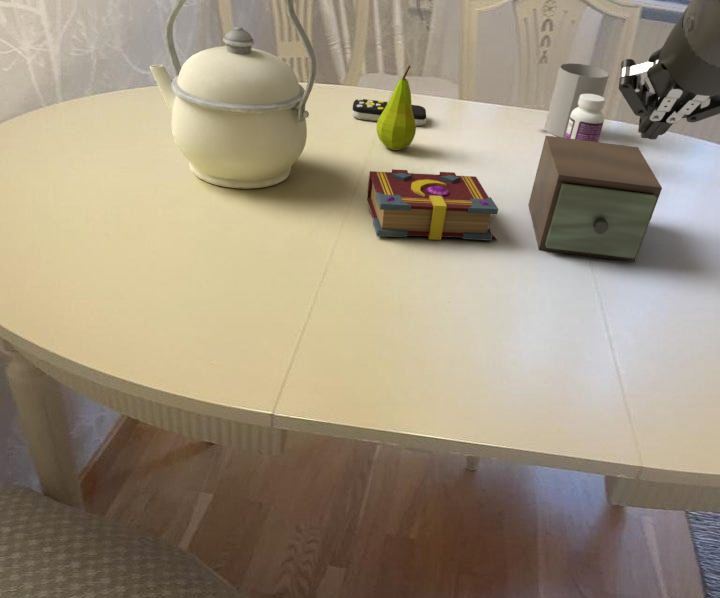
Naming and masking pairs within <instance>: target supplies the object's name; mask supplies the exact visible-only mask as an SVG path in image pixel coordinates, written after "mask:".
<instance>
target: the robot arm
mask: <svg viewBox="0 0 720 598" xmlns="http://www.w3.org/2000/svg"><path fill="white" fill-rule="evenodd" d="M647 78H648V81H649V83H650V85H651V86H652V89H653V92H652V91H650V89H651V88H650V86H649V84H648V82H647V81H646V79H647ZM618 90H619V92H620V93H621V95H622V97H623V98H624V99H625V101H626V103H627V105H628V106H629V108H630V109H631V111H632V113H633V114H634V115H635V116H637V117H639V121H638V130H637V131H638V133H639V134H640V138H641V139H647V140H656V139H657V138H658V137H659V136H663V135H665V134H666V133H667V132H668V130H670V128H671V126H673V124H676V123H678V122H680V121H681V119H686V121H687V123H698V122H700V121H703V120H705V119H708V118H711V117H714V116H717V115H720V0H690V2H689V3H688V5H687V7H686V8H685V10H684V11H683V13H682V14H681V16H680V17H679V19H678V20H677V21H676V23H675V24H674V26H673V27H672V29H671V31H670V32H669V34H668V36H667V37H666V40H665V41H664V43H663V45H662V47H661V48H659V49H657V50H656V51H654V52H653V53H652V54H651V55H650V56H649V57H648V61H646V62H642V63H639V64H637V63H636V61H635V60H634V59H632V58H626V59H624V60H622V61H621V62H620V71H619V81H618ZM707 100H709V103H708V105H707V106H704V107H702V103H705V102H706V101H707Z"/></svg>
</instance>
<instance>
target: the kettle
mask: <svg viewBox="0 0 720 598" xmlns="http://www.w3.org/2000/svg"><path fill="white" fill-rule="evenodd" d="M186 1H187V0H177V2H176V3H175V5H174V7H173V8H172V10H171V12H170V14H169V16H168V18H167V21H166V23H165V26H164V27H165V28H164V38H165V45H166V49H167V53H168V57H169V60H170V63H171V65H172V69H173V71H174V74H175V77H174V78H173V79H172V78H171V76H170V75H169V73H168V71H167V70H166V69H167V68H166V67H165V65H164V64H154V65H153V64H152V65H150V66H149V69H150V72H151V73H152V75H153V78H154V80H155V82H156V84H157V86H158V89H159V91H160V94H161V96H162V97H163V100H164V102H165V104H166V106H167V108H168V110H169V111H170V114H171V132H172V137H173V139H174V143H175V145H176V147H177V148H178V150H179V151H180V153H181V154H182V155H183V157H185V159H186V160H188V161H189V163H188V164H189V169H190V171H191V172H192V174H193V175H194V176H196V177H197V178H198V179H200V180H202V181H203V182H207V183H208V184H212V185H216V186H220V187H223V188H231V189H241V190H242V189H243V190H246V189H252V190H253V189H262V188H267V187H272V186H275V185H278V184H281V183H282V182H284V181H285V180H287V178H288V177H289V175H290V174H291V167H292V165H294V163H296V161H297V160H298V159H299V158H300V157H301V155H302V153H303V152H304V150H305V147H306V144H307V137H308V129H307V128H308V127H307V120H306V119H307V118H309V116H310V113H309V111H308V110H306V105H307V102H308V100H309V97H310V96H311V92H312V90H313V87H314V84H315V80H316V77H317V66H318V65H317V64H318V63H317V57H316V54H315V51H314V48H313V45H312V44H311V40H310V39H309V37H308V35H307V33H306V31H305V29H304V28H303V26H302V25H303V24H302V23H301V22H300V20H299V18H298V16H297V14H296V11H295V6H294V0H285V9H286V13H287V16H288V18H289V20H290V23H291V25H292V26H293V28H294V29H295V31H296V34H297V36H298V37H299V39H300V41H301V43H302V45H303V47H304V50H305V52H306V55H307V57H308V58H307V59H308V63H309V74H308V80H307V83H306V87H305V88H304V86H302V85H301V84H300V83H299V80H298V78H297V75H296V73H295V72H294V70H293V68H291V66H290V65H288V63H287V62H285V61H284V60H283V59H281V58H280V57H278V56H276V55H274V54H272V53H270V52H268V51H265V50H263V49H259V48H254V47H252V46H253V45H255V39H254V38H253V36H252V35H251V33H249V32H248V31H247V30H245V29H244V28H243V27H242V26H235V27H234V28H233V29H232V28H231V29H230V30H228V32H227V33H226V34H225V36H224V37H223V38H222V41H223V43H225V44H226V45H221V46H215V47H214V46H213V47H210V48H205V49H203V50H200V51H198V52H196V53H194V54H193V55H191V56H190V57H189V58H188V59H186V60H185V62H184V63H183V64H182V65H181V63H180V59H179V57H178V53H177V51H176V46H175V42H174V26H175V25H174V24H175V21H176V19H177V17H178V15H179V13H180V12H181V10H182V8H183V6H184V5H185V3H186Z"/></svg>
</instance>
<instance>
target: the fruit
mask: <svg viewBox="0 0 720 598" xmlns="http://www.w3.org/2000/svg"><path fill="white" fill-rule="evenodd" d="M410 69H411V65H408V66H407V69H406V70H405V72H404V74H403V76H402V77H401V78H400V79H399V80H398V83H397V84H396V86H395V88H394V90H393V93H392V94H391V96H390V97H389V100H388V101H387V102H388V104H387V105H386V107H385V109H384V111H383V112H382V114H381V115H380V117H379V119H378V121H376V133H377V137H378V139H379V142H381V143H382V144H383V145H384V146H385V148H387V149H388V150H392V151H400V150H404V149H406V148H407V147H408V146H410V145H411V144H412V142H414V141H413V140H414V138H415V136H416V132H417V126H416V122H415V119H414V116H413V112H412V105H413V104H412V91H411V88H410V83H409V81H408V79H407V78H406V77H407V75H408V72H409V71H410Z"/></svg>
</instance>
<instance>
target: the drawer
mask: <svg viewBox="0 0 720 598" xmlns="http://www.w3.org/2000/svg"><path fill="white" fill-rule="evenodd" d="M656 199H657V198H656V197H655V195H652V194H645V192H637V191H629V190H622V189H614V188H606V187H598V186H590V185H582V184H574V183H566V182H563V183H562V184H561V188H560V192H559V195H558V199H557V203H556V206H555V210H554V214H553V217H552V221H551V224H550V228H549V232H548V235H547V239H546V243H545V245H546V248H552V249H560V250H568V251H576V252H584V253H592V254H600V255H608V256H616V257H624V258H632V259H635V257H636V254H637V251H638V249H639V246H640V243H641V240H642V238H643V235H644V232H645V229H646V227H647V224H648V221H649V218H650V216H651V213H652V210H653V207H654V205H655V202H656Z"/></svg>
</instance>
